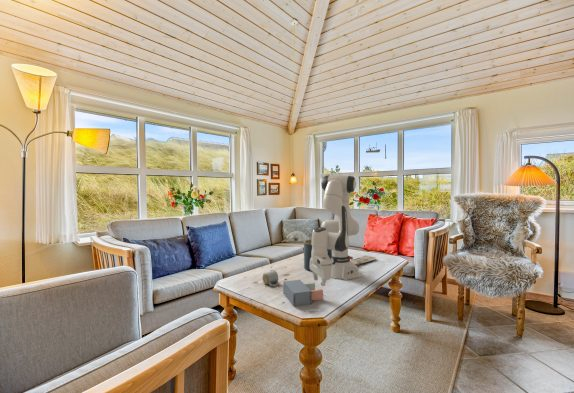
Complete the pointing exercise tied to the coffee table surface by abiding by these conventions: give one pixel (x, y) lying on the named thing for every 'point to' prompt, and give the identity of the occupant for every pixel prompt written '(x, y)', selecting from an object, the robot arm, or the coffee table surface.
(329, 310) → the coffee table surface
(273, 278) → the ceramic mug
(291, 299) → the grey rectangular block
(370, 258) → the newspaper
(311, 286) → the mint green upright slab
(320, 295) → the pink stick
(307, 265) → the planter
